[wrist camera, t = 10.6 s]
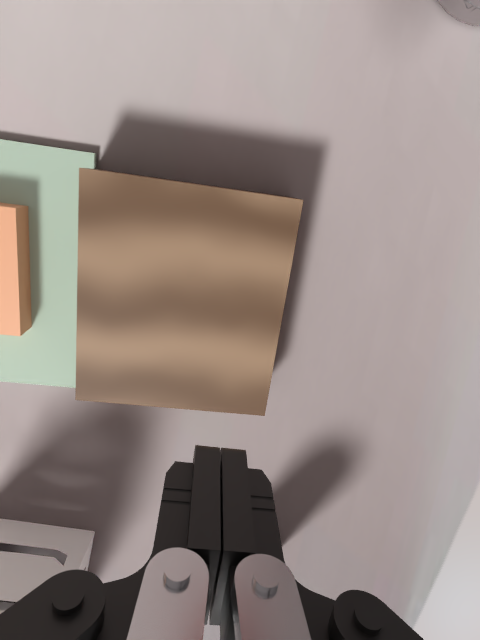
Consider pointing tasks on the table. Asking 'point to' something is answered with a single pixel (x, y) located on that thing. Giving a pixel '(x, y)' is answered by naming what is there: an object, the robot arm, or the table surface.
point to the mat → (45, 260)
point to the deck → (180, 291)
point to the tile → (14, 270)
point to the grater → (38, 556)
